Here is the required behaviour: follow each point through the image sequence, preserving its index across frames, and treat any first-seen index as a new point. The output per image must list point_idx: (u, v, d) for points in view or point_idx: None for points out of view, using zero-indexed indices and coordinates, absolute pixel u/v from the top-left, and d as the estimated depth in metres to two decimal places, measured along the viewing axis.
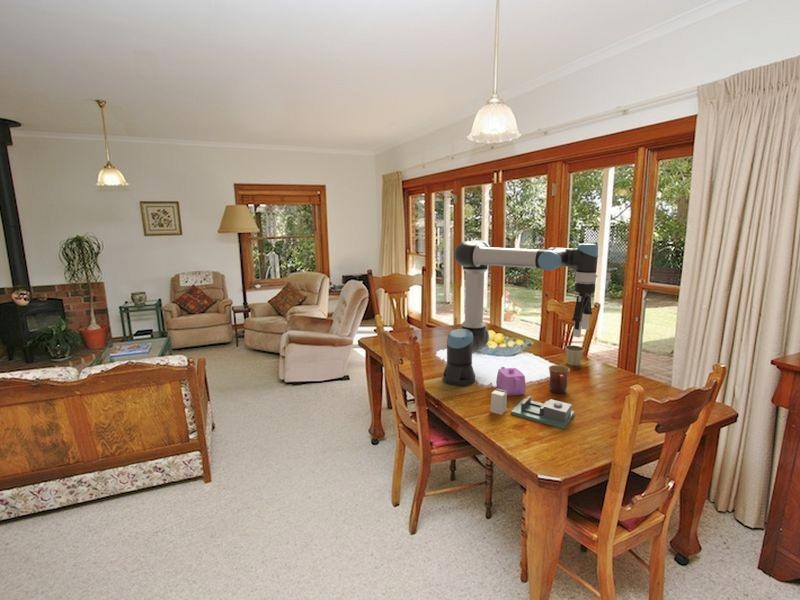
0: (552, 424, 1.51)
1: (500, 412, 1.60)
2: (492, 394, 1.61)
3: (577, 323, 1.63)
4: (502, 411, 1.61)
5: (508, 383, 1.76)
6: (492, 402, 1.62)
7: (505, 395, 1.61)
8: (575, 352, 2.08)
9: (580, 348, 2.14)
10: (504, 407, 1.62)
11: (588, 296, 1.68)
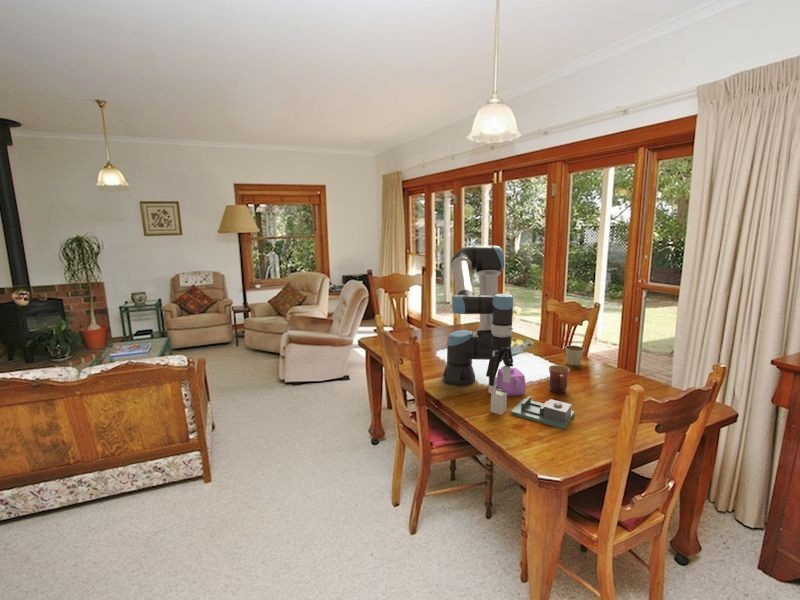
0: (552, 424, 1.51)
1: (500, 412, 1.60)
2: (492, 394, 1.61)
3: (491, 379, 1.53)
4: (502, 411, 1.61)
5: (508, 383, 1.76)
6: (492, 402, 1.62)
7: (505, 395, 1.61)
8: (575, 352, 2.08)
9: (580, 348, 2.14)
10: (504, 407, 1.62)
11: (505, 349, 1.58)
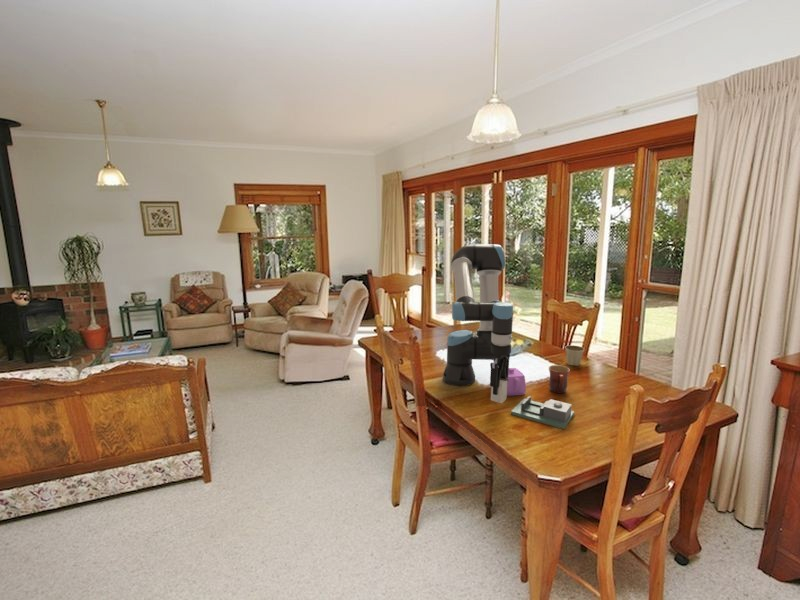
0: (552, 424, 1.51)
1: (500, 400, 1.60)
2: None
3: (495, 389, 1.58)
4: (502, 399, 1.61)
5: (508, 383, 1.76)
6: None
7: (505, 383, 1.61)
8: (575, 352, 2.08)
9: (580, 348, 2.14)
10: (504, 395, 1.62)
11: (505, 357, 1.59)
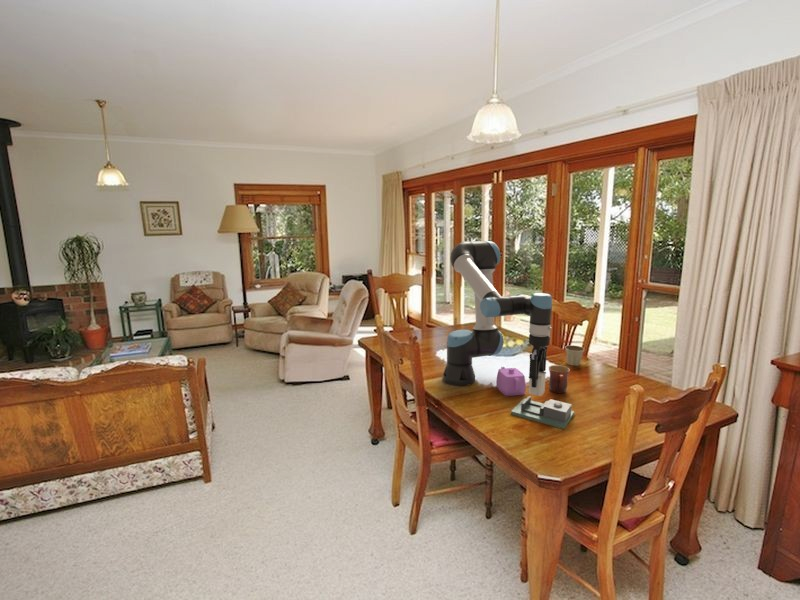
0: (552, 424, 1.51)
1: (539, 393, 1.57)
2: None
3: (534, 381, 1.56)
4: (541, 392, 1.58)
5: (508, 383, 1.76)
6: None
7: (544, 376, 1.58)
8: (575, 352, 2.08)
9: (580, 348, 2.14)
10: (543, 388, 1.59)
11: (543, 348, 1.57)
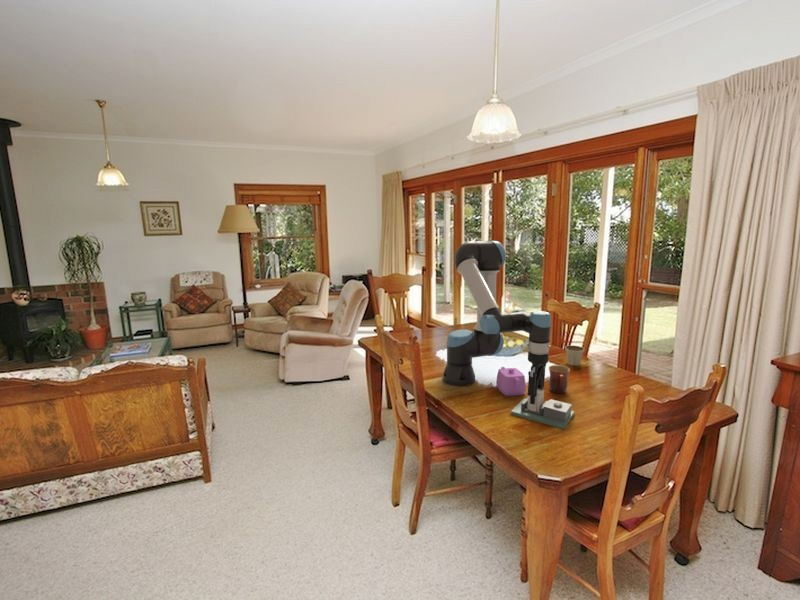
0: (552, 424, 1.51)
1: (537, 410, 1.59)
2: None
3: (532, 398, 1.57)
4: (539, 409, 1.59)
5: (508, 383, 1.76)
6: None
7: (542, 393, 1.60)
8: (575, 352, 2.08)
9: (580, 348, 2.14)
10: (541, 405, 1.61)
11: (542, 365, 1.59)
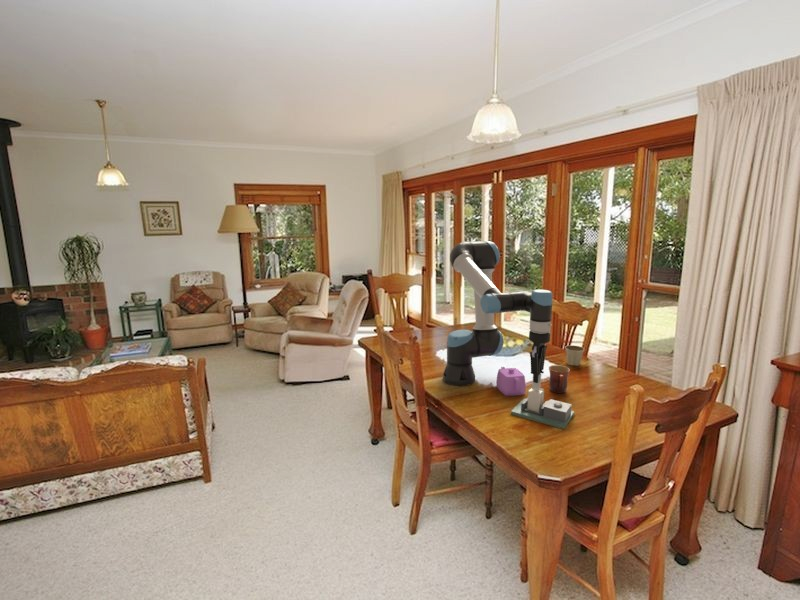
0: (552, 424, 1.51)
1: (537, 410, 1.59)
2: (529, 392, 1.60)
3: (536, 376, 1.57)
4: (539, 409, 1.59)
5: (508, 383, 1.76)
6: (529, 400, 1.60)
7: (542, 393, 1.60)
8: (575, 352, 2.08)
9: (580, 348, 2.14)
10: (541, 405, 1.61)
11: (544, 345, 1.57)
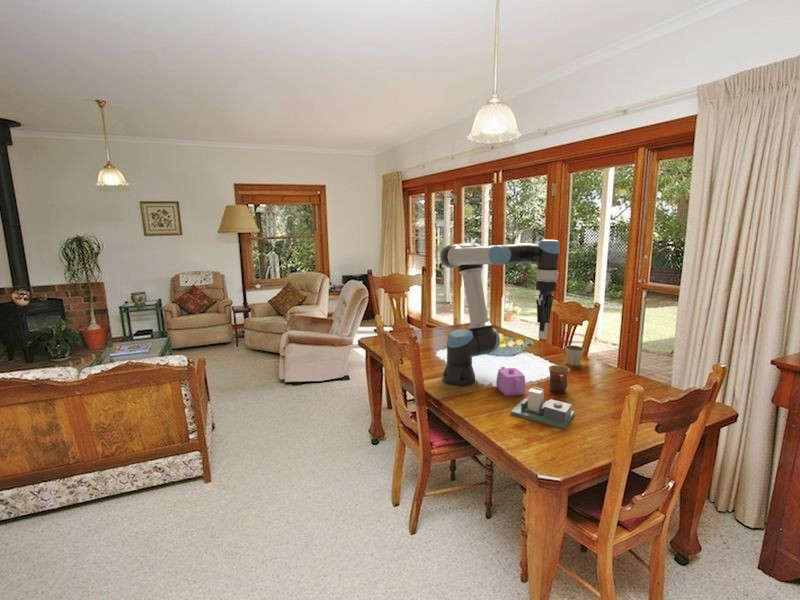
0: (552, 424, 1.51)
1: (537, 410, 1.59)
2: (529, 392, 1.60)
3: (542, 325, 1.62)
4: (539, 409, 1.59)
5: (508, 383, 1.76)
6: (529, 400, 1.60)
7: (542, 393, 1.60)
8: (575, 352, 2.08)
9: (580, 348, 2.14)
10: (541, 405, 1.61)
11: (550, 294, 1.61)
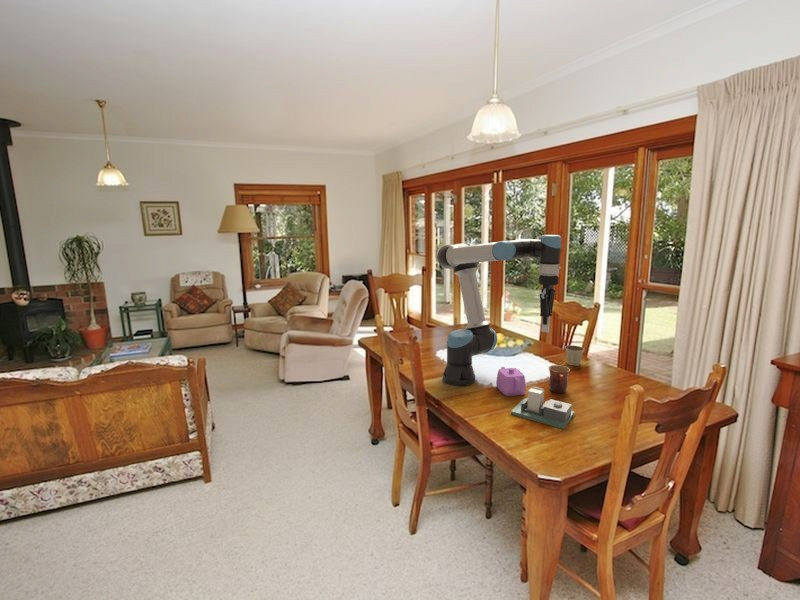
0: (552, 424, 1.51)
1: (537, 410, 1.59)
2: (529, 392, 1.60)
3: (545, 318, 1.65)
4: (539, 409, 1.59)
5: (508, 383, 1.76)
6: (529, 400, 1.60)
7: (542, 393, 1.60)
8: (575, 352, 2.08)
9: (580, 348, 2.14)
10: (541, 405, 1.61)
11: (552, 288, 1.65)
